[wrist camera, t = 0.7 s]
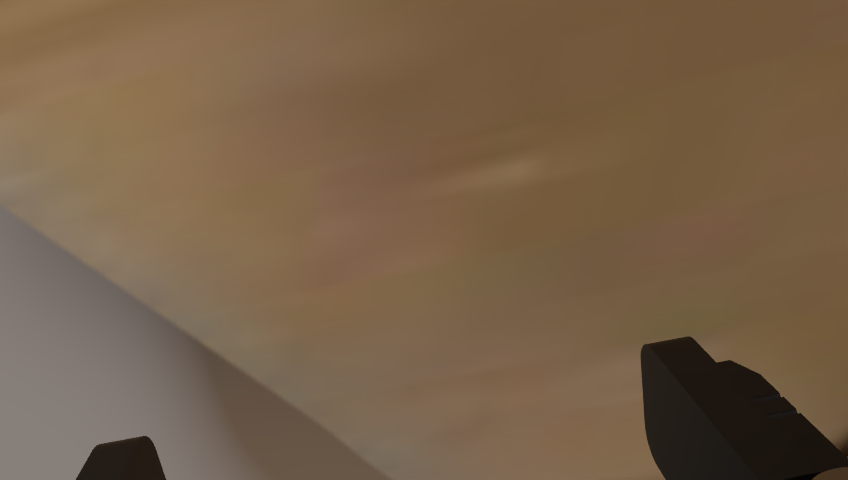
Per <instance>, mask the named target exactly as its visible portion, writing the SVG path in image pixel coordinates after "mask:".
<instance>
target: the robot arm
mask: <svg viewBox="0 0 848 480" xmlns="http://www.w3.org/2000/svg"><path fill="white" fill-rule="evenodd" d="M641 370H642V386H643V402H644V417H645V429H646V435H647V440H648V444H649V447H650V450H651V453H652V456H653V458H654V460H655V463H656V464H657V466H658V468H659V469H660V471H661V473H662V474H663V476H664V477H665V479H666V480H848V458H847V457H846V456H845V455H844V454H843V453H842V452H840V451H839V450H838V449H837V448H836V447H835V446H834V445H833V444H832V443H831V442H830V441H829V440H828V439H827V438H826V437H825V436H824V435H823V434H822V433H821V432H820V431H819V430H818V429H816V428H815V427H814V426H813V425H812V424H811V423H810V422H809V421H808V420H807V419H806V418H805V417H804V416H803V415H802V414H801V413H799V414H798V413H797V411H796V408H795V407H794V406H793V405H791V404H790V403H789V402H788V401H787V400H786V399H785V398H784V397H781V396H780V393H779V392H778V391H777V390H776V389H775V388H774V387H773V386H772V385H771V384H770V383H769V382H767V381H766V380H765V379H764V378H763V377H762V376H761V375H760V374H758V373H756V372H754V371H752V370H750V369H748V368H746V367H744V366H741V365H739V364H737V363H735V362H733V361H731V360H728V361H723V362H718V363H716V362H715V361H714V360H713V359H712V358H711V357H710V356H709V354H708V353H707V352H706V351H705V350H704V349H703V348H702V347H701V346H700V345H699V344H698V343H697V342H696V341H695V340H694V339H693V338H691V337H683V338H677V339H672V340H666V341H661V342H656V343H650V344H645V345H643V347H642V350H641ZM76 480H166V478H165V475H164V472H163V469H162V466H161V463H160V460H159V457H158V454H157V451H156V449H155V446H154V444H153V442H152V441H151V439H150V438H149V437H147V436H142V437H136V438H131V439H126V440H120V441H115V442H109V443H104V444H99V445H97V446H96V447H95V448H94V449H93V450H92V452H91V454H90V456H89V457H88V459H87V461H86V463H85V465H84V466H83V468H82V470H81V472H80V473H79V475H78V477H77V478H76Z"/></svg>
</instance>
